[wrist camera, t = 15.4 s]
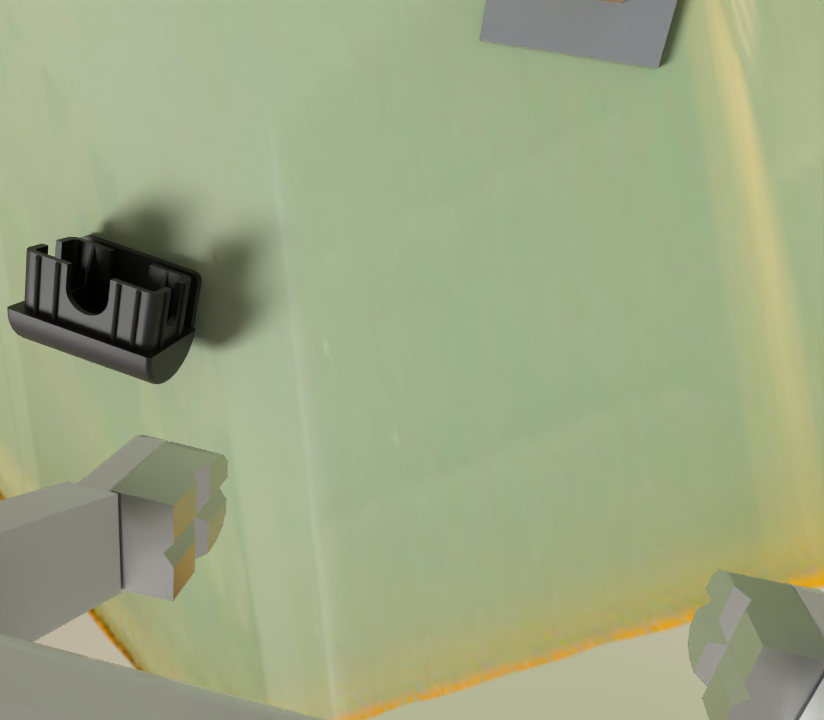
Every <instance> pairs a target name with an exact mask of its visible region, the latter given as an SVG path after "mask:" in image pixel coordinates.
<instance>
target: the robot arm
mask: <svg viewBox="0 0 824 720" xmlns="http://www.w3.org/2000/svg"><path fill="white" fill-rule="evenodd" d="M227 465H228V461H227V459H226V457H225V456H224V455H222V454H218V453H214V452H210V451H206V450H202V449H198V448H194V447H191V446H187V445H183V444H179V443H175V442H168V441H167V440H162V439H158V438H154V437H149V436H145V435H141V436H135V437H134V438H133V439H131V440H130V441H129V442H128V443H126V444H125V445H124V446H123V447H122V448H120V449H119V450H118V451H117V452H115V453H114V454H113V455H112V456H110V457H109V458H108V459H107V460H106V461H104V462H103V463H102V464H101V465H99V466H98V467H97V468H96V469H94V470H93V471H92V472H91V473H90V474H88V475H87V476H86V477H85V478H83V479H82V480H81V481H80V482H78V483H72V482H65V483H61V484H58V485H54V486H51V487H47V488H44V489H40V490H36V491H33V492H29V493H26V494H22V495H19V496H15V497H12V498H8V499H4V500H1V501H0V720H325V719H321V718H317V717H313V716H310V715H306V714H302V713H298V712H295V711H291V710H287V709H283V708H280V707H276V706H272V705H268V704H264V703H261V702H257V701H253V700H249V699H246V698H242V697H238V696H234V695H231V694H227V693H223V692H219V691H215V690H212V689H208V688H204V687H200V686H197V685H193V684H189V683H185V682H182V681H178V680H174V679H170V678H167V677H163V676H159V675H155V674H151V673H148V672H144V671H140V670H136V669H133V668H128V667H125V666H121V665H117V664H114V663H110V662H106V661H103V660H99V659H95V658H91V657H87V656H84V655H80V654H76V653H72V652H69V651H64V650H61V649H57V648H53V647H49V646H46V645H42V644H38V643H35V642H34V641H35V640H37V639H39V638H41V637H43V636H44V635H46V634H48V633H49V632H52V631H53V630H55V629H57V628H59V627H60V626H62V625H64V624H66V623H68V622H69V621H71V620H73V619H75V618H77V617H78V616H80V615H82V614H84V613H86V612H87V611H89V610H91V609H93V608H94V607H96V606H98V605H100V604H102V603H103V602H105V601H107V600H109V599H111V598H112V597H114V596H116V595H118V594H119V593H121V590H125V591H130V592H134V593H139V594H143V595H148V596H152V597H157V598H161V599H166V600H170V601H174V599H175V598H176V597H177V595H178V594H179V592H180V591H181V590H182V588H183V587H184V586H185V584H186V583H187V581H188V580H189V579H190V577H191V576H192V575H193V573H194V571H195V559H196V558H198V557H201V556H203V555H205V554H207V553H208V552H209V551H210V549H211V548H212V546H213V545H214V543H215V542H216V540H217V538H218V535H219V533H220V530H221V528H222V526H223V521H224V517H225V512H226V498H225V496H224V495H223V493H222V491H221V490H220V488H219V487H220V486H221V485H222V483H223V482H224V481H225V480H226V478H227ZM706 590H707V592H708V595H709V597H710V600H711V602H710V603H708V604H706V605H705V606H703V607H701V608H699V609H698V610H696V612H695V615H694V617H693V620H692V623H691V625H690V630H689V640H688V649H689V657H690V661H691V665H692V668H693V671H694V673H695V674H696V675H697V676H698V677H699V678H700V679H701V681H702V682H703V683H704V684H705V685H706V686H707V689H706V691H705V693H704V695H703V697H702V699H703V702H704V705H705V708H706V711H707V714H708V717H709V720H824V593H823V592H822V591H820V590H818V589H813V588H808V587H803V586H798V585H793V584H788V583H785V584H784V583H779V582H775V581H770V580H766V579H761V578H756V577H752V576H747V575H743V574H738V573H733V572H729V571H724V570H720V569H718V570H717V572H716V573H715V574H714V575H713V576H712V577H711V579H710V581H709V583H708V585H707V588H706Z"/></svg>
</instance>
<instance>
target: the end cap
mask: <svg viewBox="0 0 824 720" xmlns="http://www.w3.org/2000/svg"><path fill="white" fill-rule="evenodd" d="M200 287H201V276H200V275H199V273H197V272H196V271H193V270H190V269H187V268H184V267H181V266H179V265H176V264H173V263H170V262H167V261H164V260H161V259H158V258H156V257H153V256H150V255H147V254H144V253H141V252H138V251H135V250H133V249H130V248H127V247H124V246H121V245H118V244H115V243H112V242H110V241H107V240H104V239H101V238H98V237H95V236H92V235H88V236H84V237H82V238H78V237H67V238H63V239H59V240H56V253H55V257H53V256H50V255H48V245H45V244H39V245H35V246H31V247H28V248H27V259H26V282H25V301H22V302H20V303H17V304H14V305H11V306H9V307H7V308H8V318H9V322H10V324H11V326H12V328H13V330H14V331H15V332H16V333H17V334H18V335H20V336H22V337H23V338H26V339H29V340H32V341H34V342H37V343H40V344H43V345H46V346H48V347H51V348H54V349H57V350H60V351H62V352H65V353H68V354H71V355H74V356H77V357H79V358H82V359H85V360H88V361H91V362H93V363H96V364H99V365H102V366H105V367H107V368H110V369H113V370H116V371H119V372H121V373H124V374H127V375H130V376H133V377H136V378H138V379H141V380H144V381H147V382H150V383H152V384H161V383H164V382H166V381H167V380H169V379H170V378H171V377H172V376H173V375H174V374H175V373H176V372H177V371H178V369H179V368H180V366H181V365H182V363H183V362H184V360H185V358H186V356H187V354H188V352H189V349H190V347H191V344H192V341H193V338H194V333H195V329H194V328H193V326H194V323H195V317H196V311H197V305H198V299H199V293H200Z"/></svg>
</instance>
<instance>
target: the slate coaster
mask: <svg viewBox="0 0 824 720" xmlns="http://www.w3.org/2000/svg"><path fill="white" fill-rule="evenodd" d="M676 3H677V0H624V1H623V3H622V4H620V3H613V2H606V1H600V0H486V6H485V11H484V17H483V22H482V28H481V34H480V39H479V40H480V41H482V42H488V43H494V44H501V45H507V46H513V47H519V48H526V49H532V50H538V51H544V52H550V53H557V54H563V55H569V56H575V57H581V58H588V59H594V60H600V61H606V62H613V63H619V64H625V65H631V66H637V67H644V68H650V69H657V68H658V67H659V63H660V60H661V56H662V53H663V49H664V46H665V42H666V38H667V35H668V31H669V28H670V24H671V21H672V17H673V14H674V10H675V7H676Z"/></svg>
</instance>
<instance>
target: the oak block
mask: <svg viewBox="0 0 824 720" xmlns="http://www.w3.org/2000/svg"><path fill="white" fill-rule="evenodd" d="M600 1H606V2H613V3H620V4H622V3H623V1H624V0H600Z"/></svg>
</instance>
